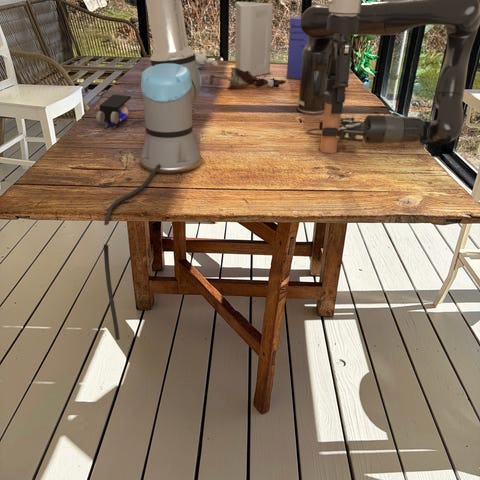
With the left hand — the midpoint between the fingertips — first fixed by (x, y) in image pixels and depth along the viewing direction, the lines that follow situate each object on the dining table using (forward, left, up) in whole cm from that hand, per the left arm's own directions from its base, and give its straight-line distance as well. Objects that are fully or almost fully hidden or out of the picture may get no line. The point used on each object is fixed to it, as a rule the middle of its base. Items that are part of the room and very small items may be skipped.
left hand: (333, 108), depth 127 cm
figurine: (+64, +35, -12) cm, 74 cm away
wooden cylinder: (0, 0, -12) cm, 12 cm away
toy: (+96, +69, -12) cm, 119 cm away
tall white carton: (+94, +37, -12) cm, 102 cm away
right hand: (-1, +3, -6) cm, 6 cm away
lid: (0, 0, +4) cm, 4 cm away
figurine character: (+8, +66, -12) cm, 68 cm away
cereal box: (+88, +12, -12) cm, 90 cm away
